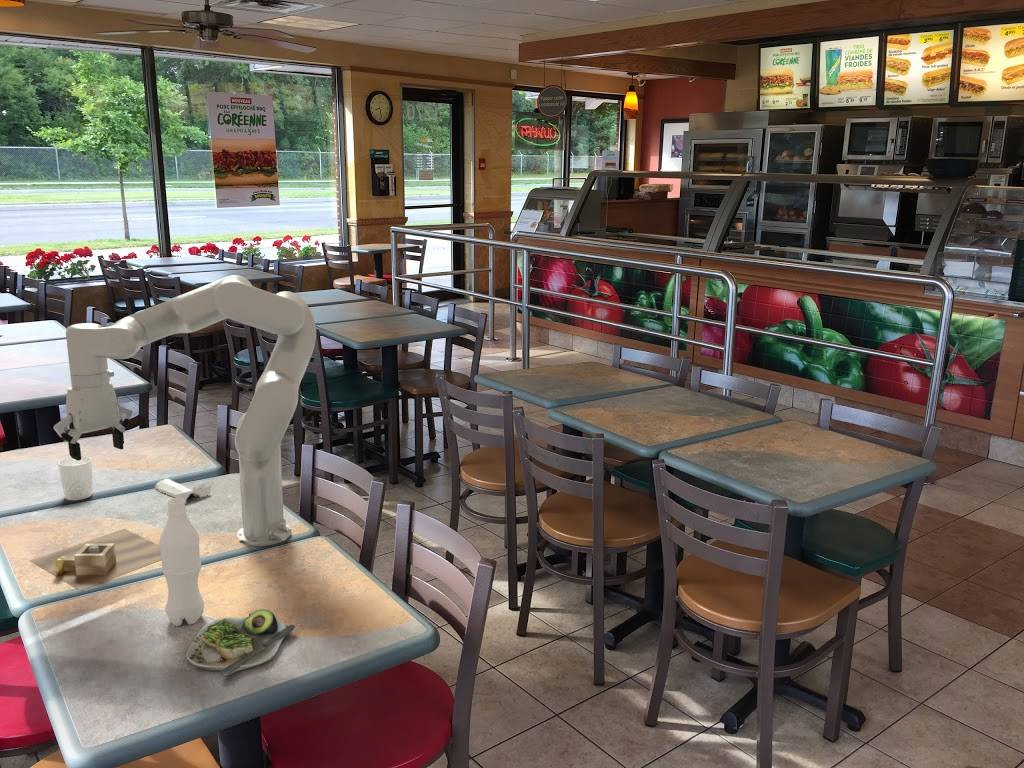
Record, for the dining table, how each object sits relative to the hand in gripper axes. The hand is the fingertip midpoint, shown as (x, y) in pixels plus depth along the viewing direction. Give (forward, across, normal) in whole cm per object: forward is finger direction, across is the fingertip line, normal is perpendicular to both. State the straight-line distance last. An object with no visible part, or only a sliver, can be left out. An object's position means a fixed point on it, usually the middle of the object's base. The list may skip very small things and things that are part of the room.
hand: (97, 453), depth 189 cm
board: (+23, +4, +6) cm, 24 cm away
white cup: (+24, -12, -37) cm, 45 cm away
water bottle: (+24, +7, +42) cm, 49 cm away
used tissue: (+24, -31, -17) cm, 43 cm away
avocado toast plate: (+24, +6, +58) cm, 63 cm away
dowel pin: (+22, +14, +7) cm, 27 cm away
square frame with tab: (+22, +9, +8) cm, 25 cm away
